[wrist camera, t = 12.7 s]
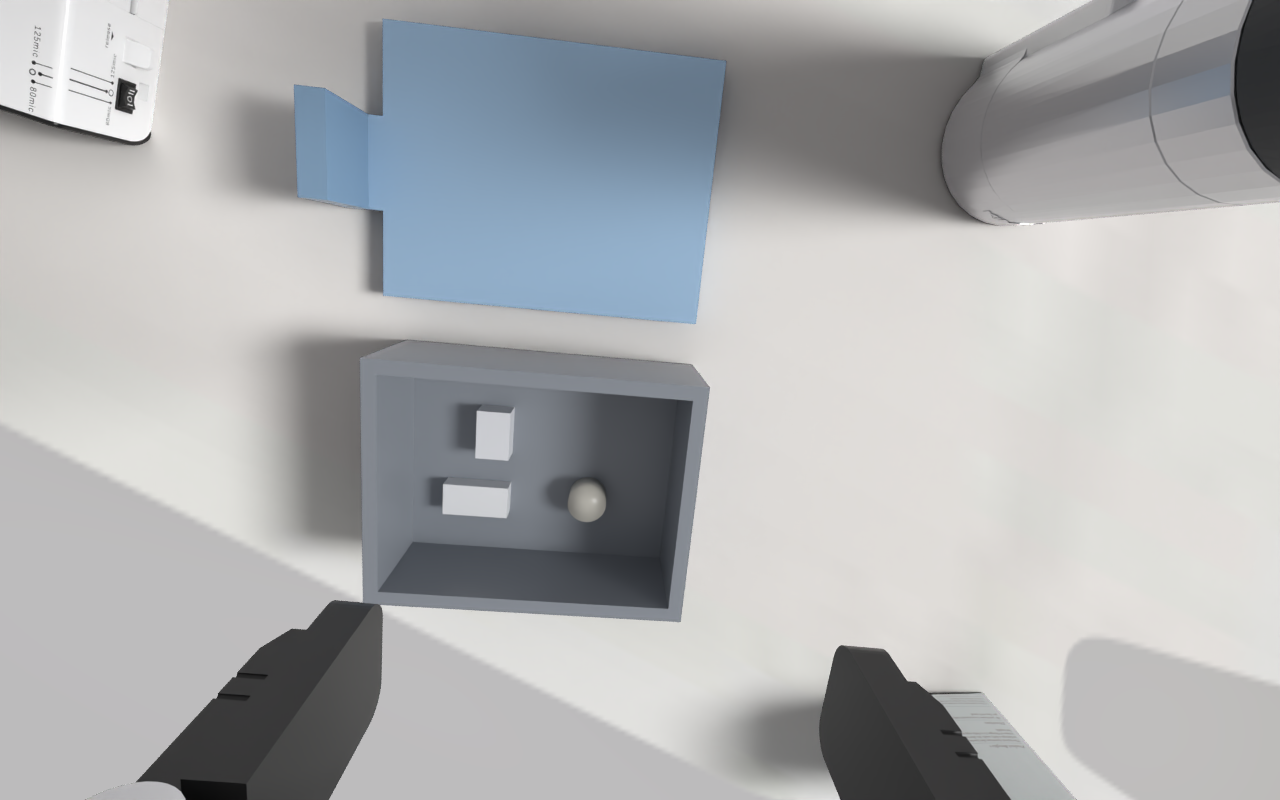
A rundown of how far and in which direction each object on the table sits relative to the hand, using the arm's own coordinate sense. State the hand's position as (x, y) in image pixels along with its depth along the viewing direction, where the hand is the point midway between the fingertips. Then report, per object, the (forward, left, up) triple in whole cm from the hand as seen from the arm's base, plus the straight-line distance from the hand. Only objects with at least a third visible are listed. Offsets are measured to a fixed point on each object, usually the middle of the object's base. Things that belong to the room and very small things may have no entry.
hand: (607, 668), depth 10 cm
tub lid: (-11, -6, -29) cm, 31 cm away
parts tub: (+6, -4, -28) cm, 29 cm away
